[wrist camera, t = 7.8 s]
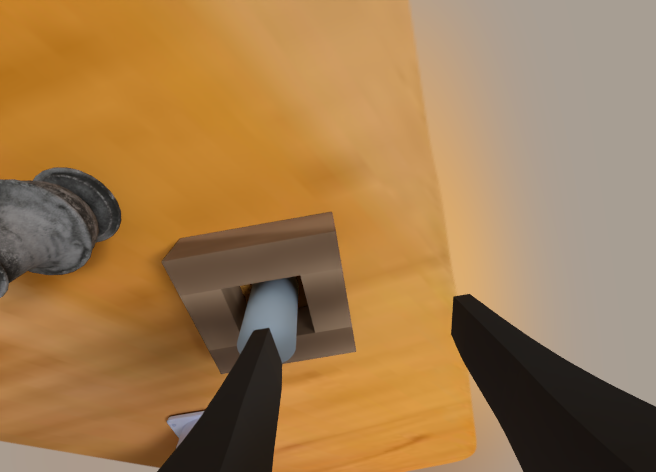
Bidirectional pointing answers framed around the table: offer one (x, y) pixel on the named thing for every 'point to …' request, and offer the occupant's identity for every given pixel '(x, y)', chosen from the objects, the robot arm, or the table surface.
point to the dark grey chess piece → (53, 223)
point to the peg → (273, 314)
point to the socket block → (259, 266)
